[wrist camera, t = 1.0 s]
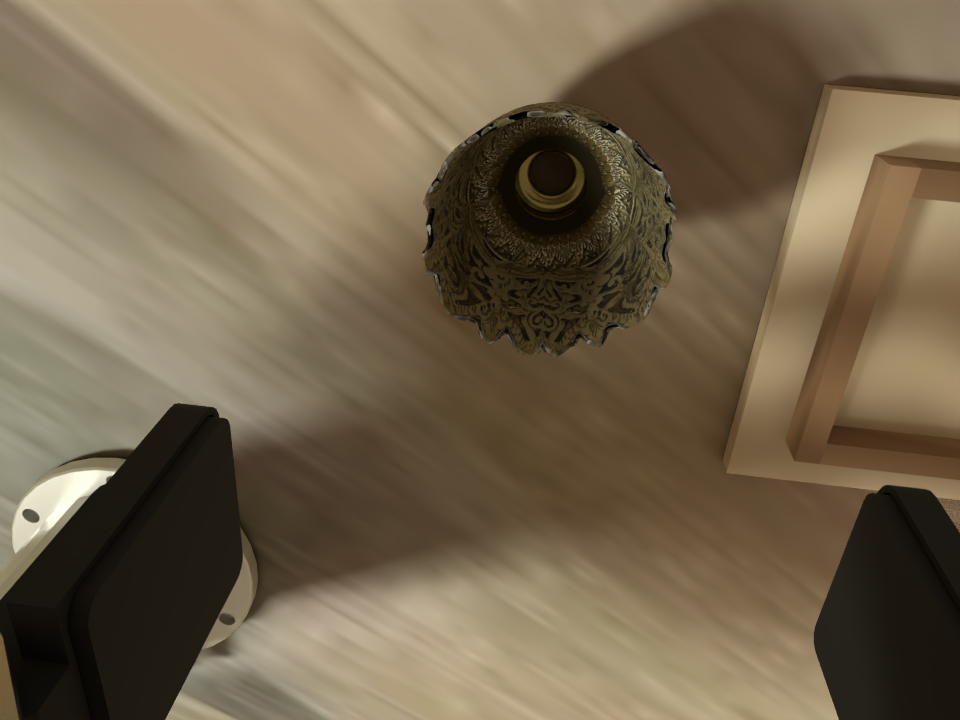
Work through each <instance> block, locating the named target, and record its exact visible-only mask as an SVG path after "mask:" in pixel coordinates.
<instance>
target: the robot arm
mask: <svg viewBox="0 0 960 720" xmlns="http://www.w3.org/2000/svg"><path fill="white" fill-rule="evenodd" d="M12 544H13V548H14V551H15V555H14V556H13V557H12V558H11V560H10V561H9V562H8V563H7V564H6V565H5V566H4V567H3V568H2V570H1V571H0V720H165V719H166V717H167V715H168V713H169V711H170V709H171V707H172V705H173V703H174V701H175V699H176V697H177V696H178V694H179V692H180V690H181V688H182V686H183V684H184V682H185V680H186V678H187V676H188V674H189V672H190V670H191V668H192V667H193V665H194V663H195V661H196V659H197V657H198V655H199V653H200V651H201V650H202V649H205V648H209V647H212V646H214V645H215V644H217V643H219V642H221V641H223V640H225V639H227V638H228V637H229V636H230V635H231V634H232V633H233V632H234V631H236V630H237V629H238V628H239V626H240V625H241V623H242V622H243V620H244V619H245V617H246V616H247V614H248V612H249V610H250V607H251V605H252V603H253V601H254V598H255V596H256V590H257V585H258V572H257V562H256V559H255V556H254V553H253V550H252V547H251V544H250V543H249V541H248V539H247V537H246V536H245V534H244V532H243V530H242V529H241V527H240V519H239V510H238V500H237V490H236V480H235V470H234V460H233V450H232V441H231V431H230V424H229V422H228V420H227V419H226V418H219V414H218V412H217V410H216V409H215V408H213V407H206V406H198V405H189V404H180V403H178V404H174V405H173V406H172V407H171V408H170V409H169V410H168V411H167V412H166V413H165V415H164V416H163V417H162V418H161V419H160V421H159V422H158V423H157V424H156V425H155V426H154V428H153V429H152V430H151V431H150V432H149V433H148V435H147V436H146V437H145V438H144V439H143V441H142V442H141V443H140V444H139V445H138V446H137V448H136V449H135V450H134V451H133V452H132V453H131V455H130V456H129V457H128V458H127V459H120V458H89V459H84V460H79V461H73V462H70V463H68V464H65V465H63V466H60V467H58V468H55V469H53V470H52V471H50V472H49V473H48V474H46V475H45V476H44V477H42V478H41V479H40V480H38V482H37V483H36V484H35V485H34V486H33V487H32V488H31V489H30V490H29V491H28V492H27V493H26V494H25V495H24V496H23V498H22V500H21V501H20V503H19V504H18V506H17V508H16V510H15V515H14V519H13V523H12ZM814 646H815V651H816V654H817V657H818V660H819V663H820V666H821V669H822V672H823V675H824V677H825V680H826V683H827V686H828V689H829V692H830V695H831V698H832V701H833V703H834V706H835V709H836V712H837V715H838V718H839V720H960V533H959V531H958V530H957V528H956V527H955V525H954V524H953V522H952V521H951V519H950V517H949V516H948V514H947V513H946V511H945V510H944V508H943V507H942V505H941V504H940V502H939V501H938V499H937V498H936V496H935V495H934V494H933V493H932V492H931V491H930V490H927V489H921V488H912V487H903V486H894V485H885V486H883V487H882V488H881V489H880V490H879V491H878V493H877V494H875V493H871V494H868V495H867V496H866V498H865V500H864V502H863V504H862V507H861V509H860V512H859V515H858V517H857V520H856V522H855V525H854V528H853V530H852V533H851V535H850V538H849V540H848V543H847V546H846V548H845V551H844V553H843V556H842V558H841V561H840V564H839V566H838V569H837V571H836V574H835V576H834V579H833V582H832V584H831V587H830V589H829V592H828V594H827V597H826V600H825V602H824V605H823V607H822V610H821V612H820V615H819V618H818V620H817V623H816V626H815V630H814Z"/></svg>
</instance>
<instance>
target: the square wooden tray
mask: <svg viewBox="0 0 960 720" xmlns="http://www.w3.org/2000/svg"><path fill="white" fill-rule="evenodd" d="M723 463H724V466H725V470H726V473H729V474H738V475H747V476H755V477H764V478H773V479H781V480H790V481H799V482H807V483H816V484H824V485H833V486H842V487H850V488H859V489H868V490H876V491H879V490H880V489H881V488H882V487H883V486H885V485H894V486H903V487H912V488H921V489H927V490H930V491H931V492H932V493H933V494H934V495H935V496H936V497H937V498H945V499H954V500H960V96H951V95H939V94H928V93H917V92H906V91H895V90H883V89H872V88H861V87H850V86H839V85H828V84H824V87H823V90H822V94H821V98H820V102H819V105H818V109H817V113H816V116H815V120H814V124H813V127H812V131H811V135H810V138H809V142H808V146H807V150H806V153H805V157H804V161H803V164H802V168H801V172H800V175H799V179H798V183H797V186H796V190H795V194H794V198H793V201H792V205H791V209H790V212H789V216H788V220H787V223H786V227H785V231H784V235H783V238H782V242H781V246H780V249H779V253H778V257H777V260H776V264H775V268H774V271H773V275H772V279H771V283H770V286H769V290H768V294H767V297H766V301H765V305H764V308H763V312H762V316H761V320H760V323H759V327H758V331H757V334H756V338H755V342H754V345H753V349H752V353H751V356H750V360H749V364H748V368H747V371H746V375H745V379H744V382H743V386H742V390H741V393H740V397H739V401H738V404H737V408H736V412H735V416H734V419H733V423H732V427H731V430H730V434H729V438H728V441H727V445H726V449H725V453H724V456H723Z"/></svg>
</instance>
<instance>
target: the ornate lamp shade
mask: <svg viewBox="0 0 960 720" xmlns="http://www.w3.org/2000/svg"><path fill="white" fill-rule="evenodd" d="M546 152H558V153H561V154H563V155H565V156H566V157H567V158H568V159H569V160H570V162H571V164H572V166H573V170H574V175H573V180H572V182H571V184H570V186H569V187H568V188H567V189H566V190H565V191H563V192H561V193H559V194H555V195H548V194H544V193H542V192H540V191H539V190H537V189H536V188H535V186H534V185H533V183H532V181H531V178H530V169H531V166H532V164H533V162H534V161H535V159H536V158H537V157H538V156H540V155H541V154H543V153H546ZM670 194H671V192H670V184H669V182H668V180H667V178H666V176H665V174H664V172H663V171H662V169H661V168H660V167H659V166H658V165H657V164H656V162H655V161H654V160H653V159H652V158H651V157H650V156H649V155H648V154H647V153H646V152H645V151H644V150H643V148H642V147H641V146H640V145H639V144H638V142H637V141H636V140H635V139H634V138H632V137H631V136H630V135H629V134H628V133H626V132H625V131H624V130H622V129H621V128H620V127H619V126H618V125H616V124H615V123H613V122H612V121H611V120H609V119H608V118H606V117H604V116H602V115H600V114H599V113H597V112H595V111H592V110H590V109H587V108H585V107H581V106H577V105H574V104H567V103H556V102H548V103H537V104H532V105H527V106H524V107H521V108H517V109H515V110H512V111H510V112H508V113H506V114H504V115H502V116H500V117H498V118H497V119H495V120H493V121H492V122H490V123H489V124H487V125H486V126H485V127H483V128H482V129H481V130H479V131H478V132H476V133H475V134H473V135H472V136H471V137H469V138H468V139H467V140H465V141H464V142H463V143H461V144H460V145H459V146H458V147H456V148H455V149H454V150H453V151H452V152H451V154H450V155H449V156H448V157H447V159H446V160H445V162H444V164H443V166H442V168H441V170H440V172H439V174H438V175H437V178H436V179H435V180H434V181H433V183H432V184H431V186H430V188H429V190H428V192H427V193H426V196H425V199H424V202H423V207H425V208H426V209H427V211H429V212H428V218H427V222H426V228H427V231H428V243H427V246H426V249H425V250H424V251H423V263H424V268H425V270H426V272H427V273H428V274H430V275H434V279H435V285H436V291H437V294H438V297H439V299H440V301H441V303H442V305H443V307H444V309H445V310H446V312H447V313H448V314H449V315H450V316H452V317H454V318H456V319H460V320H463V321H470V322H473V323H477V325H478V327H477V328H479V329H478V330H479V331H478V332H479V334H480V337H481V338H482V339H483V340H484V341H485V343H487V344H492V343H493V342H495V341H497V340H498V339H500V338H501V336H503V335H504V334H507V336H508V339H509V341H510V343H511V344H512V346H513V348H514V349H515V350H516V351H518V352H519V353H521V354H524V355H529V356H531V355H535V354H539V353H540V351H541V350H543V351H544V352H548V353H549V354H550V355H552V356H554V357H558V356H559V355H561V354H562V353H564V352H565V351H566V350H567V349H568V348H569V347H572V346H575V345H576V344H577V342H578V339H579V338H582V339H583V340H585V341H586V342H587V344H590V345H593V346H595V347H601V346H602V345H603V343H604V341H605V340H606V338H607V335H608V333H609V331H610V330H613V329H616V328H622V329H626V328H629V327H631V326H633V325H635V324H638V323H640V322H642V321H643V320H644V319H645V317H646V316H647V315H648V313H649V311H650V309H651V306H652V304H653V302H654V300H655V299H656V297H657V294H658V291H659V288H661V289H663V288H665V287H666V286H667V284H668V283H669V280H670V278H671V274H672V266H671V264H670V262H669V257H668V251H669V245H670V243H671V241H672V239H673V233H672V222H674V220H675V221H677V212H676V208H675V205H674V203H673V201H672V199H671V195H670ZM500 335H501V336H500Z"/></svg>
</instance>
